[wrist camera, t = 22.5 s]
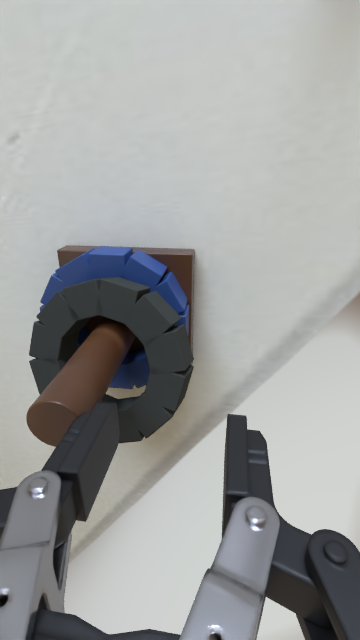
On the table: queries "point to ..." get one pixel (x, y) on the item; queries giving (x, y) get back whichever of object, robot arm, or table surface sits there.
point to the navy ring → (130, 268)
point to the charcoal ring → (146, 324)
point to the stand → (99, 353)
